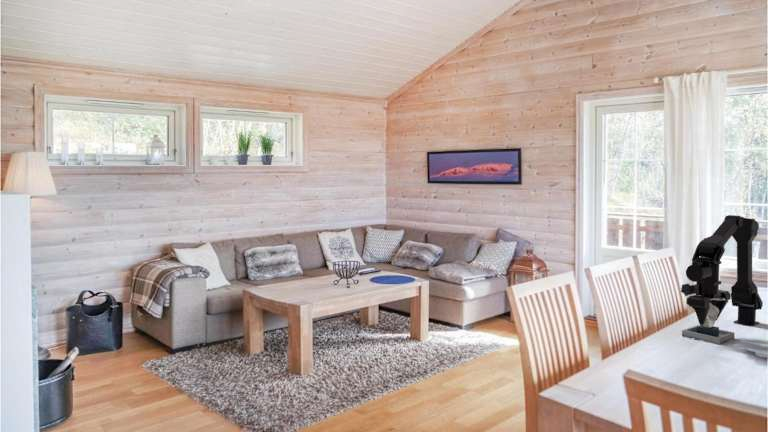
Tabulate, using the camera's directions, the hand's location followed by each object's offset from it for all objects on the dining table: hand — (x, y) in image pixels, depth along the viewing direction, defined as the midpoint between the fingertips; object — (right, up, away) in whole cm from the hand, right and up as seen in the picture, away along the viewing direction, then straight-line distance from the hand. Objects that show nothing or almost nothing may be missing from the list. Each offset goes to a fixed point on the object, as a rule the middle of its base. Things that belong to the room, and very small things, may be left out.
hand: (708, 322), depth 208 cm
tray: (0, -5, +1) cm, 5 cm away
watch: (0, -5, 0) cm, 5 cm away
